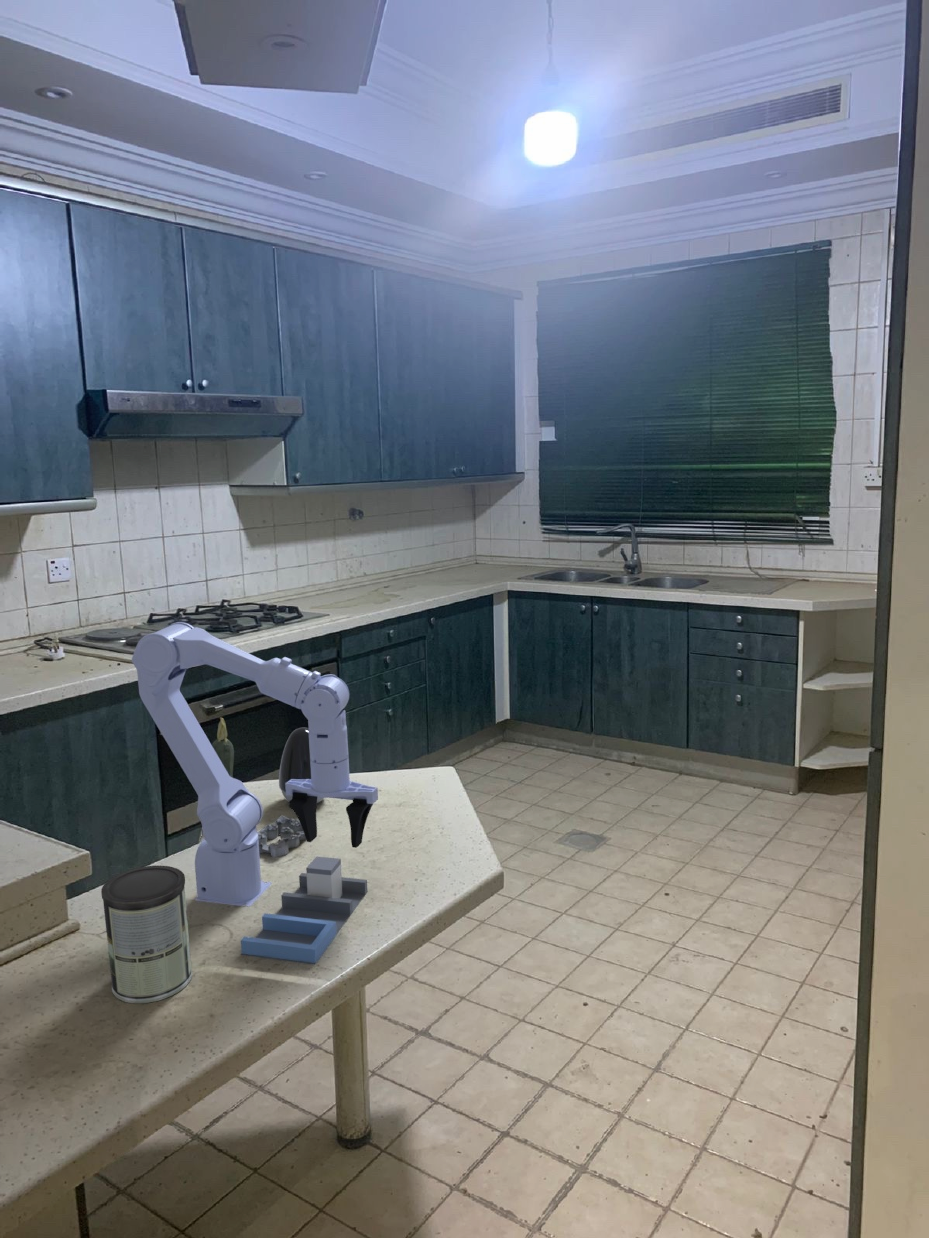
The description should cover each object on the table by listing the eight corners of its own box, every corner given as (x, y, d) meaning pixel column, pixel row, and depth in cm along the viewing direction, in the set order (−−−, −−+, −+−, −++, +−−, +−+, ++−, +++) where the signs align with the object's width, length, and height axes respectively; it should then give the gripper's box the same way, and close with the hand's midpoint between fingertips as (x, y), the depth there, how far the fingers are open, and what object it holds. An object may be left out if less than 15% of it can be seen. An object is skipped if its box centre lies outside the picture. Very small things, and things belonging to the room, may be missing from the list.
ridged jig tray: (241, 958, 127) (239, 941, 126) (303, 887, 147) (302, 872, 146) (315, 967, 124) (314, 950, 123) (368, 894, 144) (367, 878, 143)
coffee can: (95, 985, 121) (85, 886, 118) (164, 951, 129) (156, 857, 126) (138, 1014, 114) (129, 910, 112) (208, 977, 122) (201, 879, 120)
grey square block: (308, 904, 140) (306, 867, 139) (318, 891, 144) (316, 856, 143) (332, 907, 139) (330, 870, 138) (342, 894, 143) (340, 858, 142)
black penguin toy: (305, 815, 175) (301, 739, 172) (269, 803, 181) (264, 730, 178) (343, 799, 183) (340, 726, 180) (307, 787, 189) (303, 717, 186)
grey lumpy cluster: (280, 864, 156) (279, 841, 155) (245, 856, 159) (243, 833, 158) (317, 839, 165) (316, 818, 164) (283, 832, 168) (282, 811, 167)
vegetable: (232, 826, 170) (225, 723, 167) (210, 824, 171) (203, 722, 168) (242, 816, 175) (235, 716, 171) (221, 815, 176) (214, 715, 172)
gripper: (384, 752, 139) (388, 836, 142) (298, 745, 144) (304, 826, 146) (365, 768, 133) (369, 855, 135) (276, 760, 137) (282, 845, 140)
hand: (334, 842), depth 140 cm, fingers open, 7 cm apart
